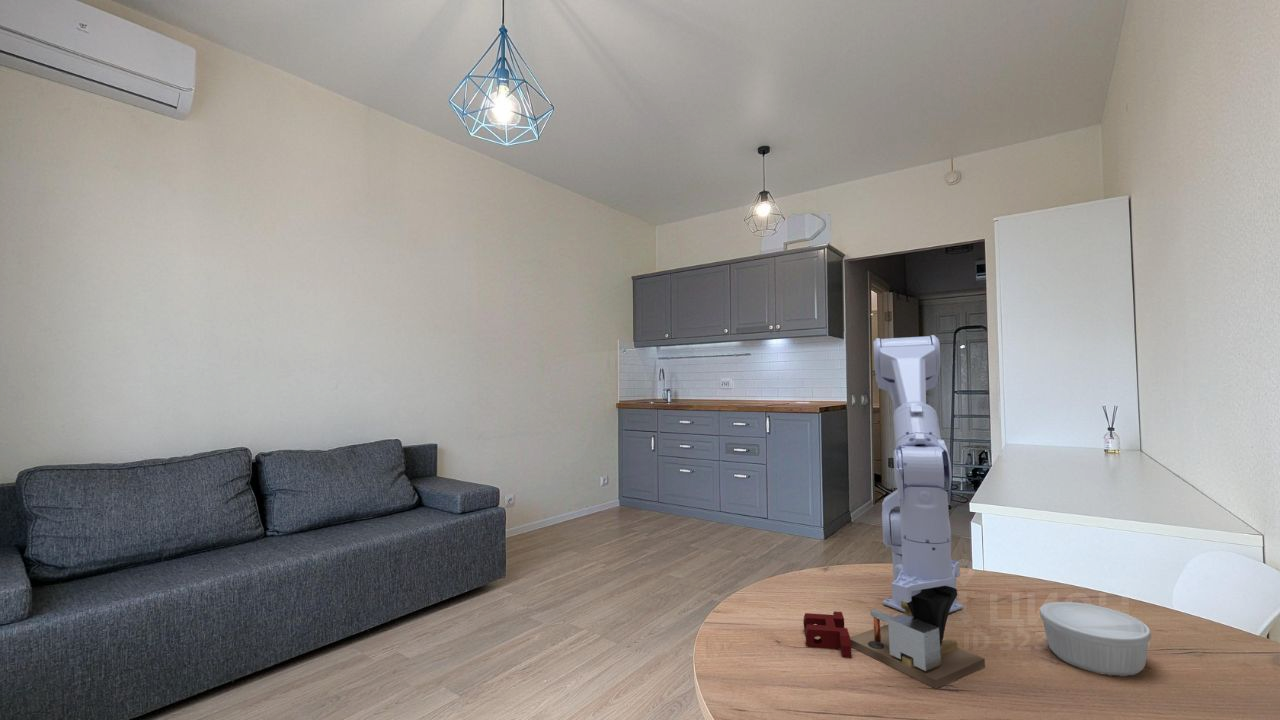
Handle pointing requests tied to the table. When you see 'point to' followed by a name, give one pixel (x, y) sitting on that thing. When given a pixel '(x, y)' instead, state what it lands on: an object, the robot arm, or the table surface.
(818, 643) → the bracket
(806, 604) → the table surface
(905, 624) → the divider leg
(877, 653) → the board
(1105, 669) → the ramekin
